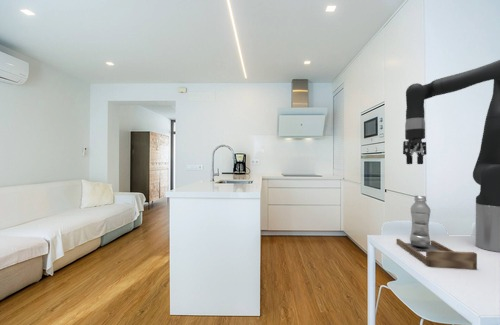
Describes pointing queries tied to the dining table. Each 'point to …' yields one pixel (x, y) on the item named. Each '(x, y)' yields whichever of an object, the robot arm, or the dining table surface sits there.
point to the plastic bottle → (420, 222)
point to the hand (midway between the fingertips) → (414, 164)
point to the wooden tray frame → (441, 256)
